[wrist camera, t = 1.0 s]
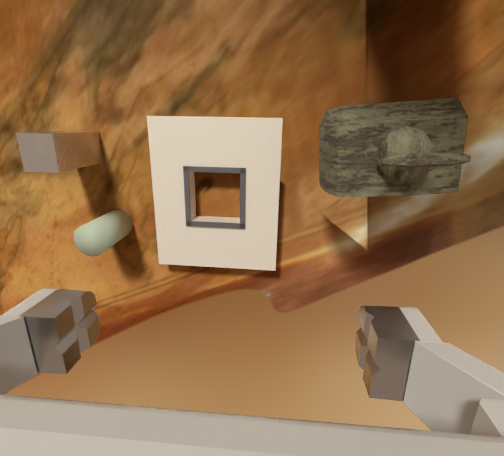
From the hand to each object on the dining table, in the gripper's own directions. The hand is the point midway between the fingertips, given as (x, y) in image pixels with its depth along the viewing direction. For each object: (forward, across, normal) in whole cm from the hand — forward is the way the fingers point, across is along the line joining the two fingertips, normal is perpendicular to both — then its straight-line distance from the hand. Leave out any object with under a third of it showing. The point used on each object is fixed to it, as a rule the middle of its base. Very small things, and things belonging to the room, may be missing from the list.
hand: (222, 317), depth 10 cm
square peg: (+43, +31, -2) cm, 53 cm away
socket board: (+43, +9, +5) cm, 44 cm away
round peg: (+43, +27, +11) cm, 52 cm away
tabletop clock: (+43, -13, -4) cm, 45 cm away
